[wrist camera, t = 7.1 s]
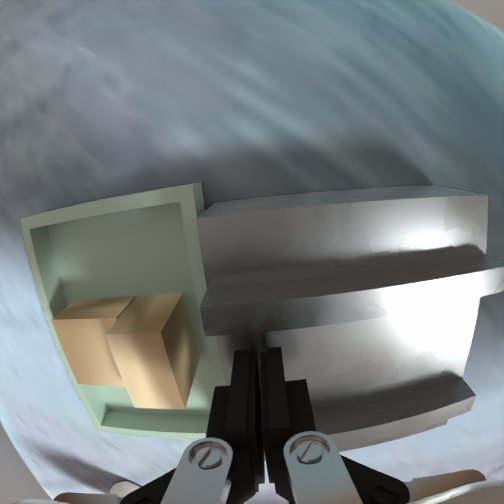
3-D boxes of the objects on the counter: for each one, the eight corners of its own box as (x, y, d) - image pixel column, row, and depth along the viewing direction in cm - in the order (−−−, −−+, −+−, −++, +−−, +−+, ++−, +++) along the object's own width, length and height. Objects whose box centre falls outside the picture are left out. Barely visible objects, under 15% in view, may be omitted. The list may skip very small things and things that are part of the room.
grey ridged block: (434, 184, 14) (512, 200, 8) (417, 378, 17) (456, 441, 11) (214, 202, 14) (185, 227, 9) (246, 405, 17) (242, 484, 12)
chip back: (51, 319, 13) (74, 300, 15) (78, 383, 14) (95, 360, 17) (115, 317, 13) (135, 295, 15) (140, 387, 14) (154, 360, 16)
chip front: (160, 332, 11) (105, 334, 11) (185, 409, 12) (134, 407, 12) (183, 291, 15) (137, 296, 15) (199, 359, 16) (156, 360, 16)
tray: (201, 182, 14) (192, 184, 12) (240, 416, 18) (238, 438, 16) (41, 212, 15) (19, 219, 13) (107, 411, 18) (97, 430, 16)
